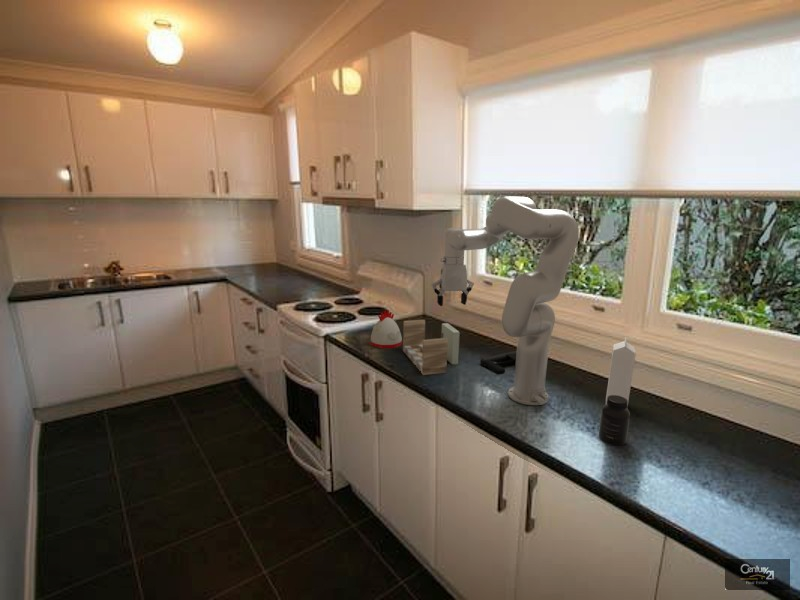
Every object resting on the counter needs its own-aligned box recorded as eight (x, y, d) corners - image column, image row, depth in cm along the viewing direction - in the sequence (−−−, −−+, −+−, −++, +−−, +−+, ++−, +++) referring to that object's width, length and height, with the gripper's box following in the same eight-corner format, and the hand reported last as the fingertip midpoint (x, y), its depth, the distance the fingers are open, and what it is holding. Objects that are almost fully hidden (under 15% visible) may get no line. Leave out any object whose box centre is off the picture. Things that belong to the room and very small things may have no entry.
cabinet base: (446, 372, 157) (447, 339, 154) (423, 374, 154) (424, 341, 151) (423, 348, 181) (424, 319, 178) (403, 350, 179) (403, 320, 176)
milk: (605, 407, 132) (614, 340, 127) (605, 399, 138) (614, 334, 133) (627, 411, 130) (637, 343, 125) (626, 403, 135) (636, 337, 130)
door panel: (457, 363, 165) (459, 332, 162) (450, 364, 165) (452, 332, 162) (446, 353, 177) (447, 323, 174) (439, 353, 176) (440, 323, 173)
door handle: (545, 363, 162) (515, 348, 175) (505, 373, 152) (477, 356, 165) (544, 371, 163) (514, 355, 176) (504, 381, 153) (476, 364, 166)
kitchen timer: (364, 342, 188) (364, 309, 185) (388, 336, 197) (389, 305, 194) (383, 350, 178) (383, 316, 175) (408, 344, 187) (408, 311, 183)
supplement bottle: (601, 430, 119) (607, 390, 116) (628, 438, 115) (635, 398, 112) (594, 440, 114) (600, 399, 111) (622, 449, 110) (629, 407, 107)
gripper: (436, 263, 156) (434, 308, 160) (479, 262, 160) (476, 305, 164) (429, 260, 163) (427, 303, 167) (470, 259, 167) (468, 301, 171)
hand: (451, 304), depth 166 cm, fingers open, 9 cm apart
